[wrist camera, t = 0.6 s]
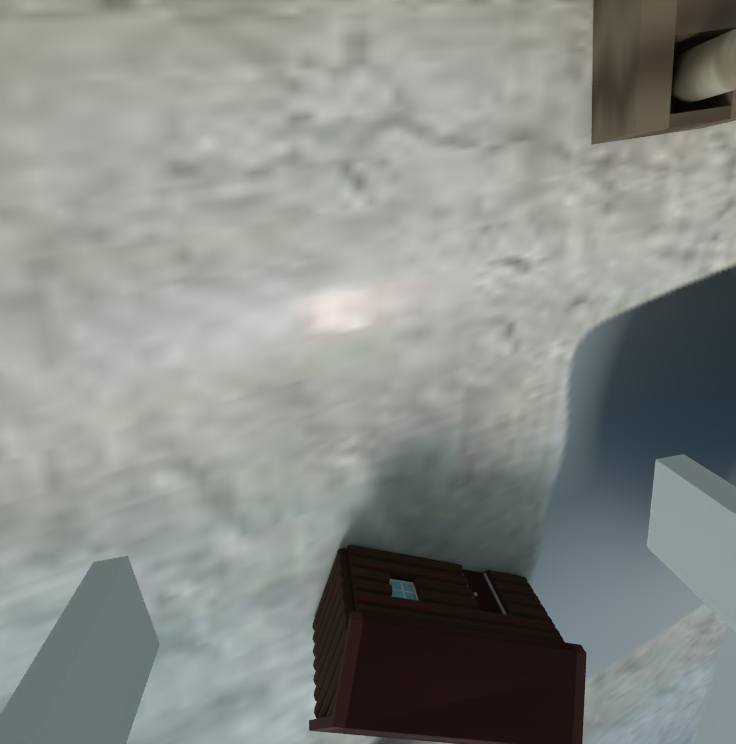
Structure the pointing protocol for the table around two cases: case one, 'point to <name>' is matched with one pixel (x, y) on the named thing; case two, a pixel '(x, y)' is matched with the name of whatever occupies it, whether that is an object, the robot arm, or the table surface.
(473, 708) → the model building
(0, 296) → the table surface
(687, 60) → the plug cream
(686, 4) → the socket block
